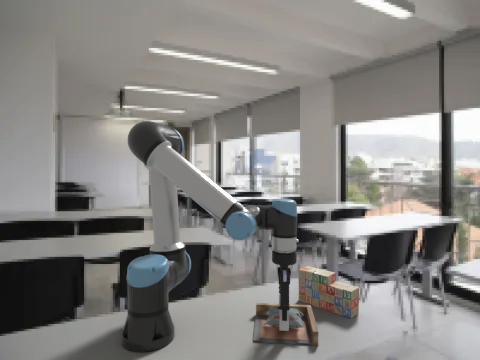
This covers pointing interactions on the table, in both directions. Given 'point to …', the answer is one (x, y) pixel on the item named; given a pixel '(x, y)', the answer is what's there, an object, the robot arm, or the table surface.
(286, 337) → the corner arena
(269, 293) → the table surface
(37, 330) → the table surface
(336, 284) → the stack of blocks
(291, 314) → the packaged food
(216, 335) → the table surface
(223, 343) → the table surface
